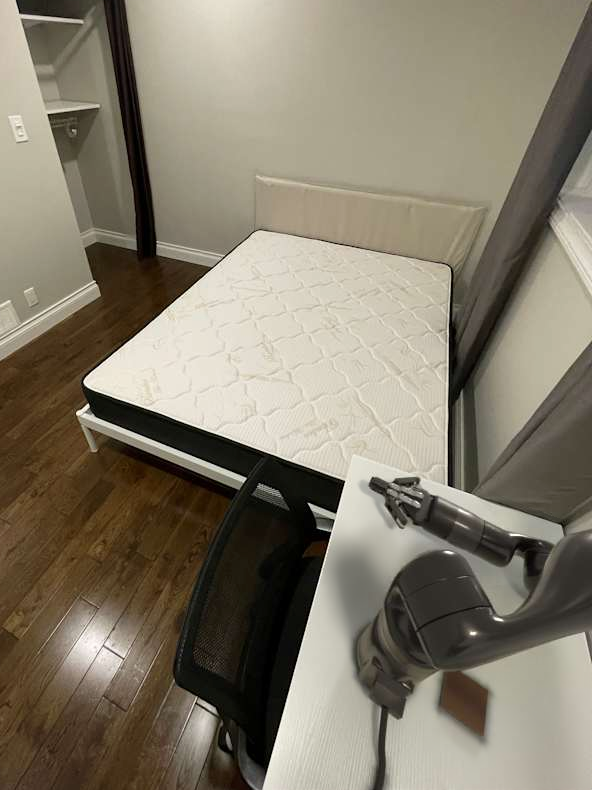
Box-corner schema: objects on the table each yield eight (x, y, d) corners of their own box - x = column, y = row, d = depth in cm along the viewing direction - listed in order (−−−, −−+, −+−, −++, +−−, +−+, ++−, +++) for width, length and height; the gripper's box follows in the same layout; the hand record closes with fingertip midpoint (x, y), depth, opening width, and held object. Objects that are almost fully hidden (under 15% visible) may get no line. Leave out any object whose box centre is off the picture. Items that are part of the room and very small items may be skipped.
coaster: (481, 736, 55) (483, 735, 54) (439, 706, 57) (441, 705, 57) (485, 691, 59) (488, 690, 58) (446, 665, 61) (448, 663, 61)
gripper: (464, 488, 76) (383, 450, 83) (453, 543, 67) (363, 495, 74) (451, 506, 81) (375, 469, 88) (439, 560, 72) (356, 513, 79)
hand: (370, 481), depth 81 cm, fingers closed
